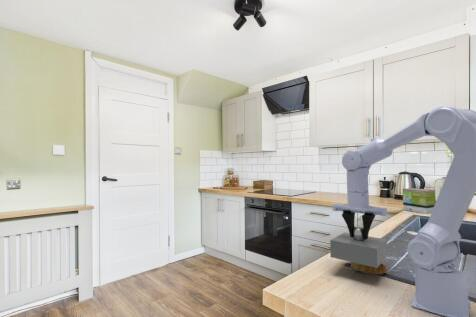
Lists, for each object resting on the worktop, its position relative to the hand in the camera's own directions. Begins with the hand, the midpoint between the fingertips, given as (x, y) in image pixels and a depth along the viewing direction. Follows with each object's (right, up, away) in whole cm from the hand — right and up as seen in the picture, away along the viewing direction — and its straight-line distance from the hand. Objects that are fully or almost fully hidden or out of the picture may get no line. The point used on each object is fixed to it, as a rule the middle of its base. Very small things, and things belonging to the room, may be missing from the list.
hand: (359, 237), depth 74 cm
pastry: (+3, -11, +3) cm, 12 cm away
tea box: (+83, -12, +90) cm, 123 cm away
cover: (0, -6, 0) cm, 6 cm away
